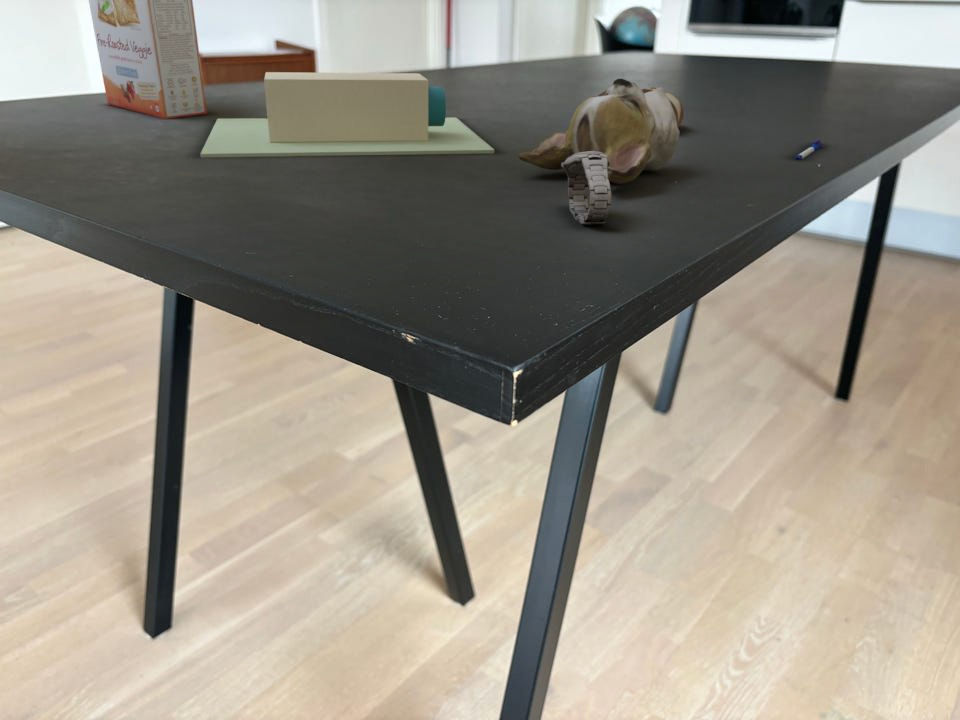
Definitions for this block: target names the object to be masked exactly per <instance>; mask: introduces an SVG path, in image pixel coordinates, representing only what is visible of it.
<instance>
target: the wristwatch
mask: <svg viewBox="0 0 960 720" xmlns="http://www.w3.org/2000/svg"><path fill="white" fill-rule="evenodd" d="M609 165H610V161H609V158H608V156H607V155H606V154H604V153H602V152H597V151H587V152H580V153H577V154H574V155H572V156H570V157H568V158H567V159H566V161H565V162H562V168H563V169H562V170H564V171H565V174H566V176H567V193H568V195H567V196H568V210H569V212H570V213H571V214H572V216H573V219H574V220H575V221H576V222H578V223H579V224H580V225H583V226H587V225H588V226H593V225H604V224H605V223H606V220H607V219H608V216H609V214H610V211H611V206H612V190H611V184H610V181H609V180H608V171H607V167H609ZM588 198H589V199H588Z"/></svg>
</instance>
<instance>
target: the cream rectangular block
mask: <svg viewBox="0 0 960 720" xmlns="http://www.w3.org/2000/svg"><path fill="white" fill-rule="evenodd" d="M263 82H264V83H263V84H264V93H265V94H264V95H265V106H266V116H267V118H268V129H269V141H270V142H359V141H428V126H443V125H444V123H445V118H446V114H447V113H446V112H447V101H446V93H445V92H446V91H445V89H444V87H443V86H429V79H427V78H426V77H425V76H423V75H422V74H421V73H419V72H418V73H417V72H415V73H414V72H411V73H410V72H308V71H307V72H304V71H303V72H302V71H301V72H300V71H299V72H297V71H296V72H294V71H293V72H291V71H290V72H287V71H286V72H285V71H283V72H282V71H266V72H265V73H264V78H263Z"/></svg>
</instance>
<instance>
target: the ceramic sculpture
mask: <svg viewBox="0 0 960 720" xmlns="http://www.w3.org/2000/svg"><path fill="white" fill-rule="evenodd" d="M656 88H657V89H655V90H653V91H651V92H647V93H643V91H642V90H641V89H642V88H641V87H640V86H639V85H638V84H636V83H635V82H631V81H630V80H627V79H625V78H616V79H615V80H613V82H612V84H611V85H610V86H609V87H608V88H607V92H606V93H605V95H601V96H598V95H594V96H591V97H589V98H586V99H585V100H584V101H582V102H581V103H580V104H579V105H578V106H577V108H576V109H575V111H574V113H573V115H572V117H571V119H570V123H569V126H568V128H567V129H566V131H564V132H563V131H562V132H555V133H553V135H551V136H550V137H548V138H545V139H543V140H542V141H541V142H540V143H539V144H538V147H535V148H534V149H533V150H532V151H529V152H527V151H524V152H521V153H519V154H518V155H517V156H518V158H519V160H521V161H523V162H525V163H528V164H531V165H532V166H535V167H539V168H540V169H545V170H549V171H550V170H551V171H559V170H564V169H563V168H562V162H565V161H566V159H567V158H568V157H570V156H572V155H574V154H577V153H580V152H587V151H597V152H602V153H604V154H606V155H607V156H608V158H609V161H610V165H609V167H607V171H608V180H609V182H611V183H614V184H617V185H618V184H627V183H630V182H632V181H634V180H635V179H637V177H638V176H640V174H641V173H642V171H643V172H644V171H658V170H660V169H662V168H663V167H664V166H666V165H668V163H669V162H670V161H671V158H673V155H674V153H675V152H676V149H677V145H678V143H679V139H680V134H681V132H680V130H679V127H677V121H676V116H675V113H674V110H673V108H672V105H671V102H670V101H669V99H668V98H667V96H666V93H665V92H666V90H665V88H664V87H662V86H659V87H656Z"/></svg>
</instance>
